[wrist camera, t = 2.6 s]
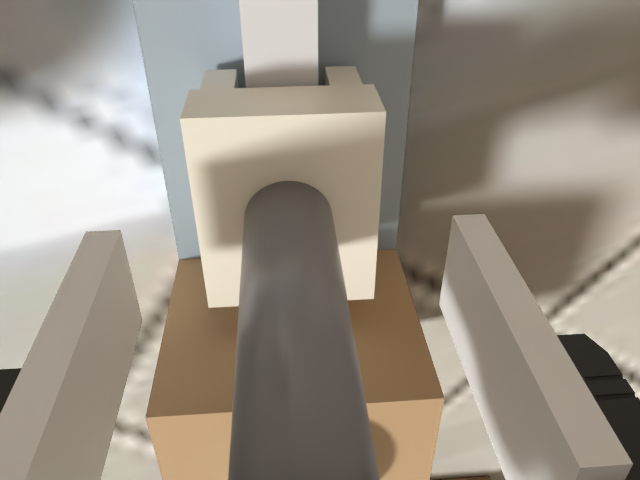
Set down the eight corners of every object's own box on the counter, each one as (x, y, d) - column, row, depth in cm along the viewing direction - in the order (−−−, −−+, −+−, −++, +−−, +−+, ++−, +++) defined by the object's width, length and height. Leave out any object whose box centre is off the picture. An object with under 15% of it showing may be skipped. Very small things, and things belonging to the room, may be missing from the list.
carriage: (195, 70, 17) (51, 519, 6) (365, 65, 17) (554, 482, 6) (217, 239, 20) (156, 727, 9) (358, 233, 20) (467, 696, 9)
